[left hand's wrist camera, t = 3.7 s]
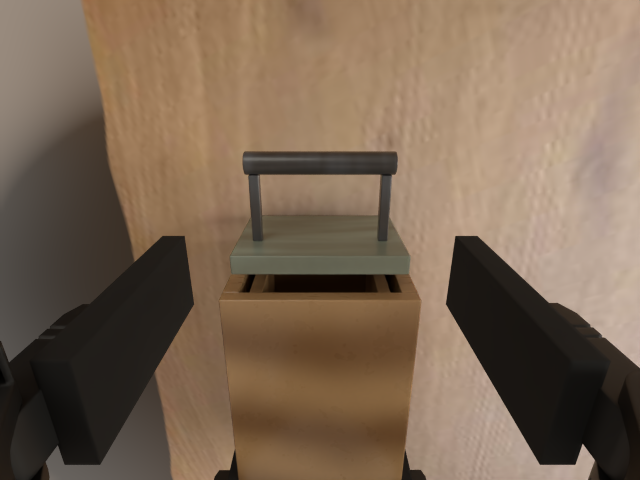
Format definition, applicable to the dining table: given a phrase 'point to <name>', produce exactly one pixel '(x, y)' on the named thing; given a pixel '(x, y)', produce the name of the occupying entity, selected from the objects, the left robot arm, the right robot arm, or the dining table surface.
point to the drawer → (320, 231)
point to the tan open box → (320, 380)
